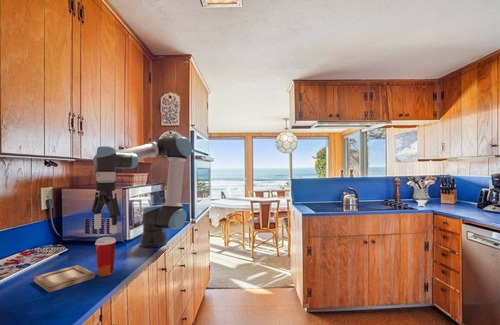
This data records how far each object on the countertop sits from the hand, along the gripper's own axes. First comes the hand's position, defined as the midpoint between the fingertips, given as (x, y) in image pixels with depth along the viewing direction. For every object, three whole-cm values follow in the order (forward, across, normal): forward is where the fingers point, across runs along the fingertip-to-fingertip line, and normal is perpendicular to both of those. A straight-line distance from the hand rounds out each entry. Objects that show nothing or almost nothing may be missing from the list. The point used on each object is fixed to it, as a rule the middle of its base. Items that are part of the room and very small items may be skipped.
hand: (105, 230), depth 117 cm
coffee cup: (+19, 0, 0) cm, 19 cm away
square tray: (+19, -7, -12) cm, 24 cm away
